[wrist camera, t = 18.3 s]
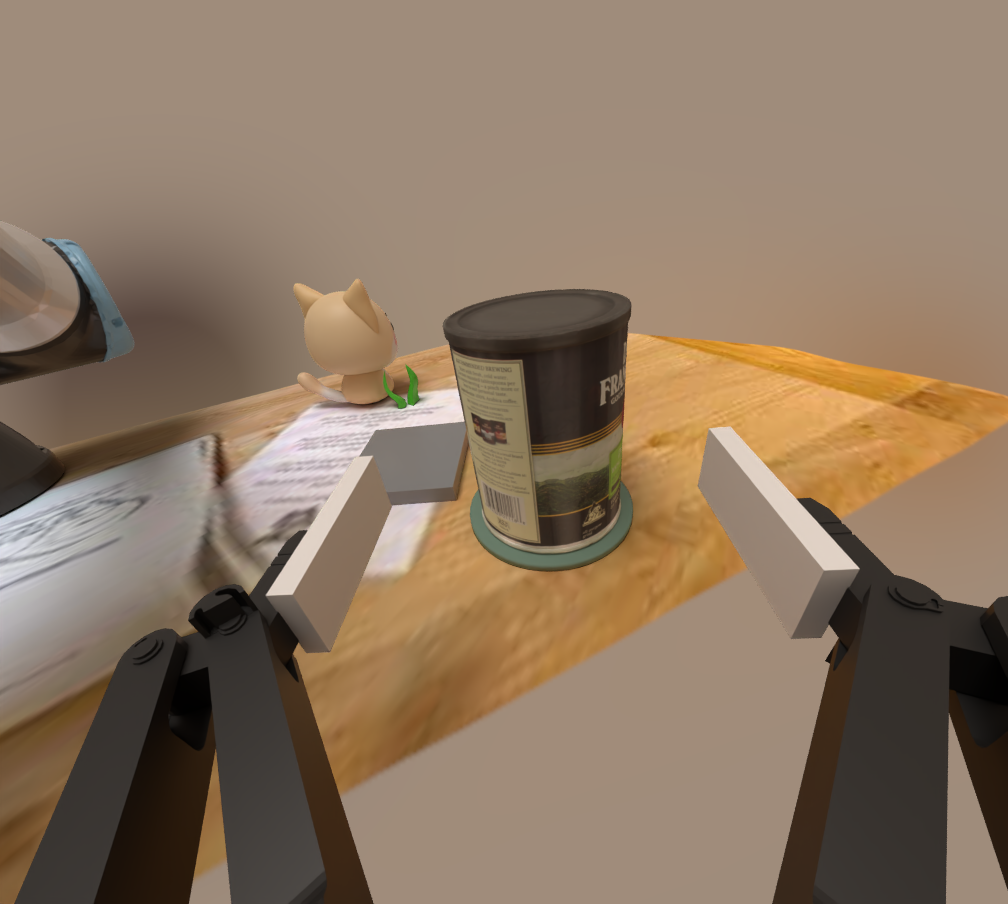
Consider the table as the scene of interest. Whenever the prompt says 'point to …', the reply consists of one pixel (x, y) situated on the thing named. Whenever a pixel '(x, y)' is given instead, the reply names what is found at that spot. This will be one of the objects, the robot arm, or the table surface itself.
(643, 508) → the table surface
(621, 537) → the coaster
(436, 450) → the slate tile
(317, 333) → the kitten
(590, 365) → the coffee can
